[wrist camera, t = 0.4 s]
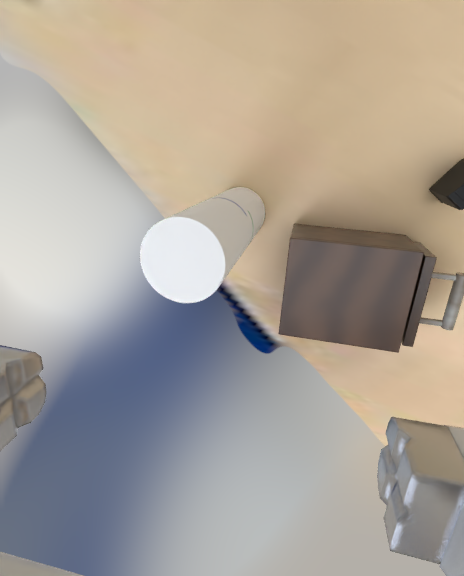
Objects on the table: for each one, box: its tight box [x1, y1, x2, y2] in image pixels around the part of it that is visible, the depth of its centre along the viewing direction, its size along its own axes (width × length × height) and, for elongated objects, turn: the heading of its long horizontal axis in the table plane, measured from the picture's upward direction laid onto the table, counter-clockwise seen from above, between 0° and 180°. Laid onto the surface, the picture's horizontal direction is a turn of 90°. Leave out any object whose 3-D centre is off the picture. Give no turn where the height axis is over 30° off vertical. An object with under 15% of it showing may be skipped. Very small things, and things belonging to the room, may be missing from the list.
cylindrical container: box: [140, 187, 265, 303], centre depth 42 cm, size 7×7×25 cm
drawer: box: [401, 242, 464, 347], centre depth 48 cm, size 18×11×7 cm, turn 86°
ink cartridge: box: [429, 159, 464, 210], centre depth 43 cm, size 5×2×8 cm, turn 139°
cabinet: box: [279, 224, 424, 352], centre depth 49 cm, size 15×13×9 cm
